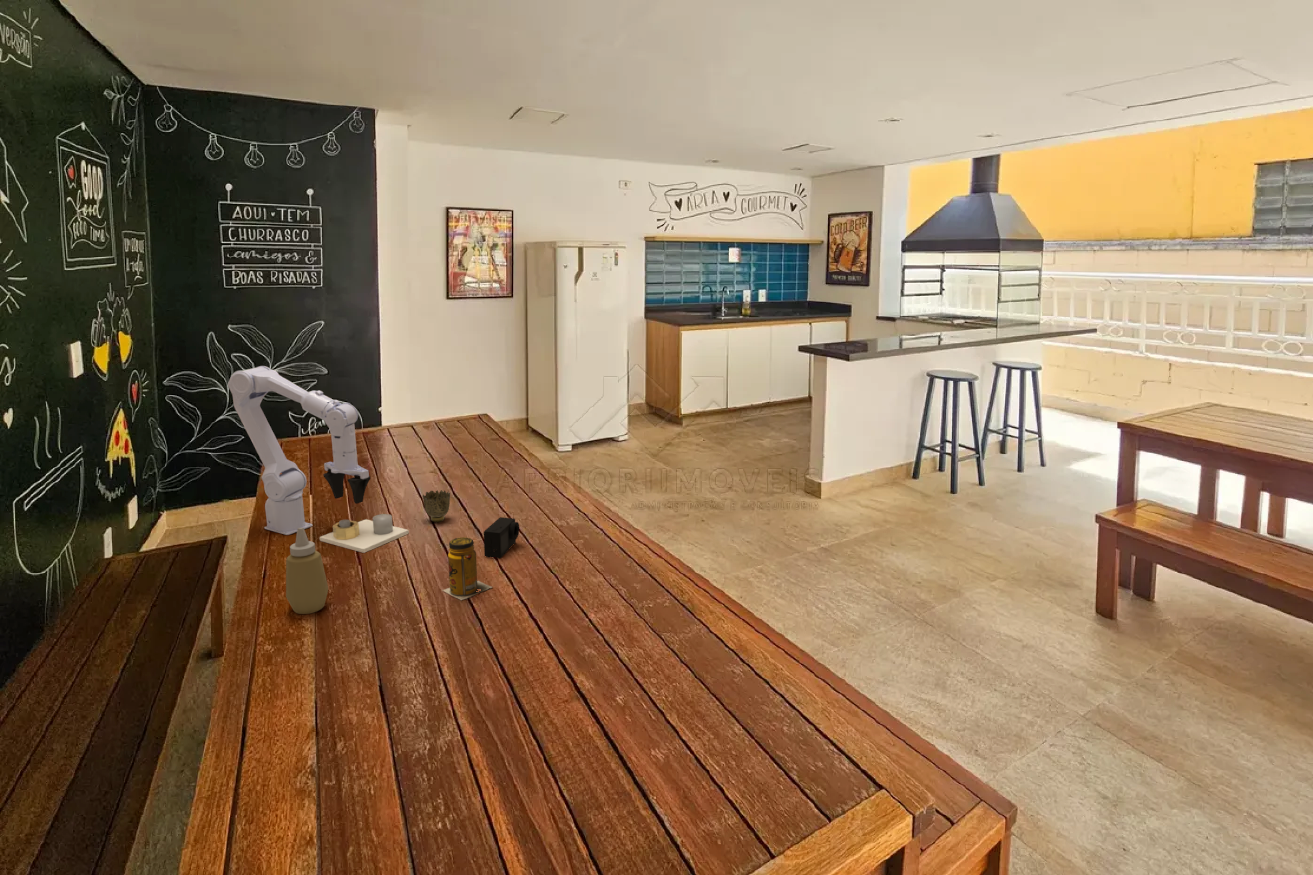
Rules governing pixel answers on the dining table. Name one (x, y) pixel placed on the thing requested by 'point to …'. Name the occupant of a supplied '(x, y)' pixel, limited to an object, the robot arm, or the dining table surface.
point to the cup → (437, 504)
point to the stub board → (368, 534)
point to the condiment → (463, 569)
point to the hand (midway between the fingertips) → (348, 499)
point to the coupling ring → (346, 531)
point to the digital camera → (500, 537)
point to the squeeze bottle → (305, 576)
